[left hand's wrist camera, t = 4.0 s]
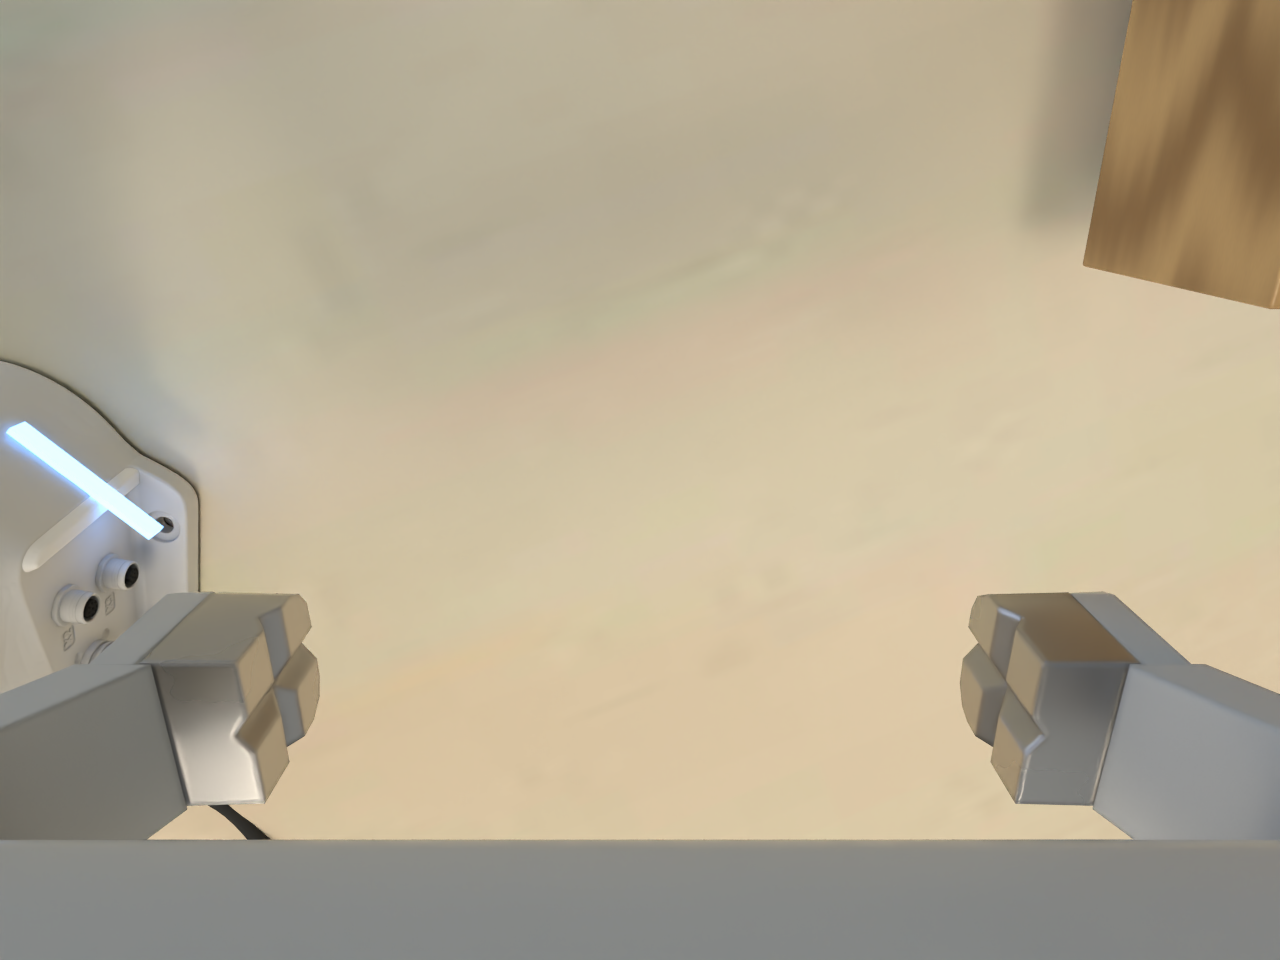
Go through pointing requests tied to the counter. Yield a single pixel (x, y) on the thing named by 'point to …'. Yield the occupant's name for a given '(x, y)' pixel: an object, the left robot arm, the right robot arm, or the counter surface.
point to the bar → (1195, 151)
